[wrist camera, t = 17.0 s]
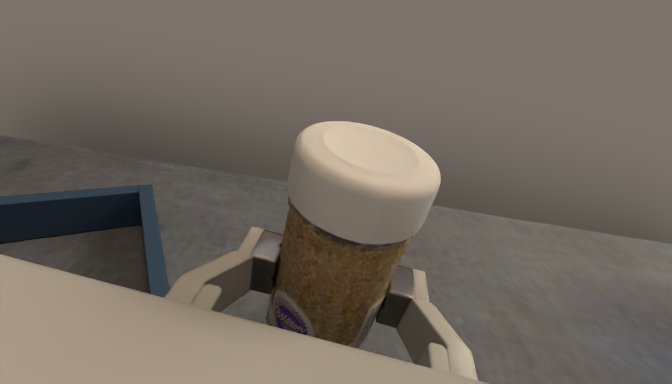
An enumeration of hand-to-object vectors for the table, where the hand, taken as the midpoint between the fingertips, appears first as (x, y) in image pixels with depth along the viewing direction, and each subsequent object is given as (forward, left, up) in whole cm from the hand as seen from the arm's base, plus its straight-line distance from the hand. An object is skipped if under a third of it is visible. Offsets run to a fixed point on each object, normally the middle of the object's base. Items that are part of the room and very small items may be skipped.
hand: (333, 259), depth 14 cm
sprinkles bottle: (+1, +1, -8) cm, 8 cm away
